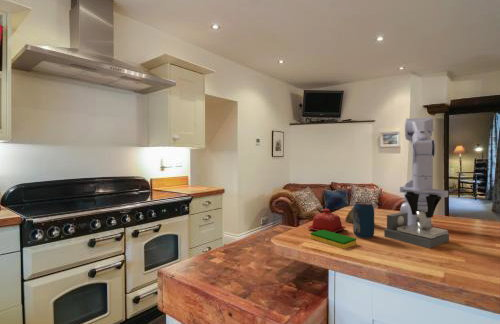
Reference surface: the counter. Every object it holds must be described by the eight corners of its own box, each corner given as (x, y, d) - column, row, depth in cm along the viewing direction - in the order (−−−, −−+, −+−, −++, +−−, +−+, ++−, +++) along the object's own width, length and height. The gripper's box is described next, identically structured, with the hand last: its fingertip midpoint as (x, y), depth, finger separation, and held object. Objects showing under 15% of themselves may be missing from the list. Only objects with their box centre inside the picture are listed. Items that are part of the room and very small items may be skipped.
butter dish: (305, 230, 109) (305, 208, 109) (321, 225, 117) (321, 205, 116) (332, 236, 100) (332, 213, 100) (347, 230, 108) (347, 208, 108)
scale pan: (393, 229, 98) (393, 227, 98) (410, 225, 104) (410, 222, 104) (431, 238, 87) (431, 235, 87) (447, 233, 93) (447, 230, 93)
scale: (384, 236, 100) (384, 215, 99) (404, 230, 106) (404, 211, 106) (429, 248, 87) (430, 224, 87) (449, 241, 94) (449, 219, 94)
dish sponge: (323, 235, 102) (323, 229, 102) (356, 245, 91) (356, 238, 91) (309, 239, 98) (309, 232, 98) (343, 250, 87) (343, 242, 87)
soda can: (375, 235, 101) (376, 202, 101) (372, 240, 96) (372, 205, 95) (355, 232, 105) (356, 200, 105) (351, 236, 99) (351, 203, 99)
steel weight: (413, 228, 96) (412, 210, 96) (422, 225, 98) (420, 208, 98) (426, 230, 92) (425, 213, 92) (434, 228, 94) (433, 210, 94)
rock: (338, 216, 121) (356, 218, 112) (345, 199, 124) (363, 200, 115) (354, 229, 124) (373, 232, 115) (361, 212, 127) (379, 214, 118)
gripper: (395, 175, 98) (394, 213, 99) (440, 177, 86) (440, 221, 86) (406, 174, 102) (405, 211, 102) (451, 176, 90) (450, 218, 90)
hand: (422, 215), depth 95 cm, fingers closed on steel weight, 4 cm apart
